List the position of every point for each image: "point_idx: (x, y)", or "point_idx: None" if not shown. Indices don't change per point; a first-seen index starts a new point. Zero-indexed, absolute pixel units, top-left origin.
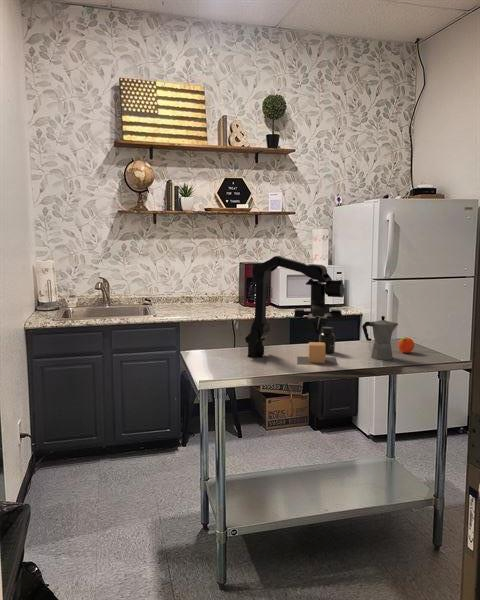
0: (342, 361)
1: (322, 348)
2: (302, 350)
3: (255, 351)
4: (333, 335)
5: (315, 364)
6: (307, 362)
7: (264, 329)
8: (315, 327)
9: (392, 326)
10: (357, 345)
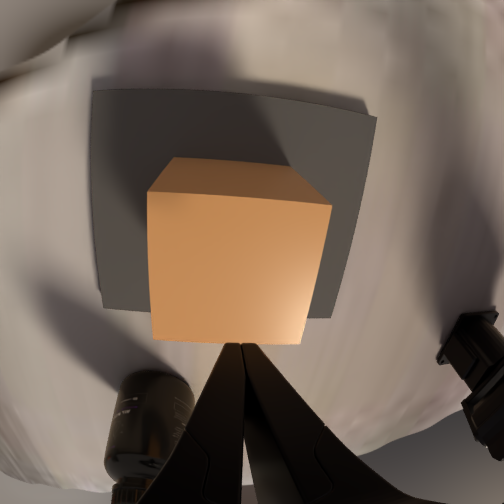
0: (68, 262)
1: (184, 183)
2: None
3: (490, 328)
4: (108, 464)
5: (253, 102)
6: (302, 162)
7: None
8: (298, 419)
9: None
10: (69, 464)
